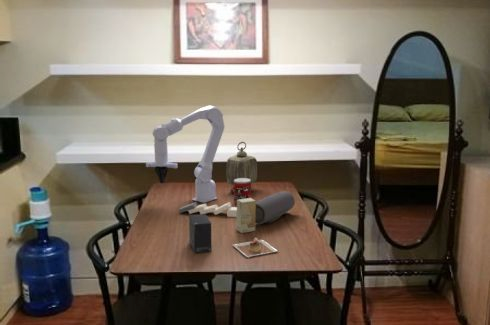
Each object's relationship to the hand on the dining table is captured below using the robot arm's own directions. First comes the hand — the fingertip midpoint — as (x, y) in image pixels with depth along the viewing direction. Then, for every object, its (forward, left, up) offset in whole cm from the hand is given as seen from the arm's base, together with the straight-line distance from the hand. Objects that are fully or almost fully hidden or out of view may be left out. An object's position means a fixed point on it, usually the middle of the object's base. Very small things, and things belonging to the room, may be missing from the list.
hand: (162, 182), depth 218 cm
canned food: (-23, +28, -10) cm, 38 cm away
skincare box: (+4, +52, -10) cm, 53 cm away
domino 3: (-1, +23, -9) cm, 25 cm away
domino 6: (-6, +34, -10) cm, 36 cm away
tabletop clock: (-39, +15, -10) cm, 43 cm away
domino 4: (-4, +29, -9) cm, 30 cm away
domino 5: (-6, +33, -8) cm, 35 cm away
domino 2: (+1, +19, -9) cm, 21 cm away
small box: (+27, +50, -10) cm, 58 cm away
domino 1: (+3, +15, -9) cm, 18 cm away
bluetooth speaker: (-13, +52, -10) cm, 55 cm away
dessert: (+17, +66, -11) cm, 69 cm away
